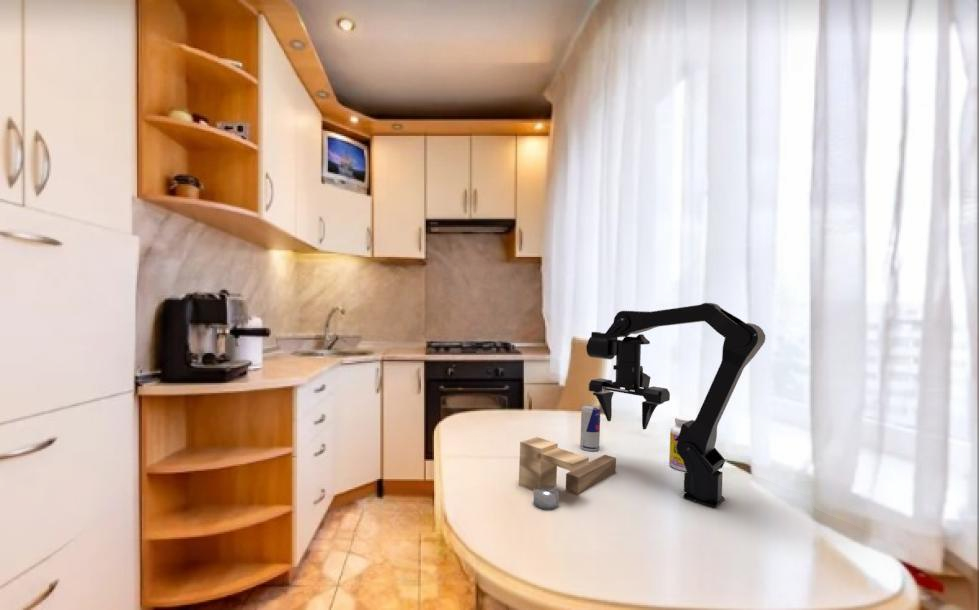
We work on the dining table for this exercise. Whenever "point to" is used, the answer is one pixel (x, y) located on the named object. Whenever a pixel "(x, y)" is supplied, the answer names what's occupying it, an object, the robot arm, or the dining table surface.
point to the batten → (590, 474)
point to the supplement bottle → (674, 457)
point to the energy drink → (590, 428)
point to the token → (546, 497)
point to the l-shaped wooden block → (545, 462)
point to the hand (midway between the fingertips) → (626, 424)
